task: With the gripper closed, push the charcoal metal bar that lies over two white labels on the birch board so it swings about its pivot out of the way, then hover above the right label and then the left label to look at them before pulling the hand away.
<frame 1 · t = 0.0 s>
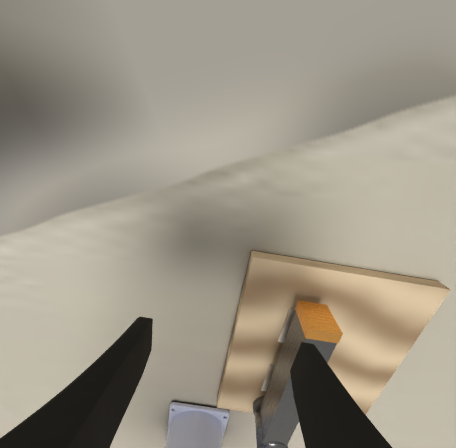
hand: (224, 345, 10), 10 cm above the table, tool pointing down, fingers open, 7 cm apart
swing bar: (288, 387, 21), point 4 cm above the table, hinge at 0.0°
label board: (310, 348, 24), on the table
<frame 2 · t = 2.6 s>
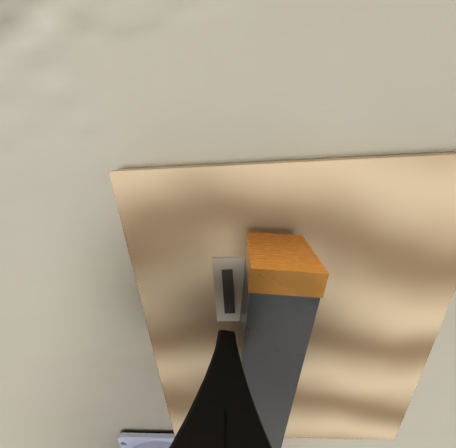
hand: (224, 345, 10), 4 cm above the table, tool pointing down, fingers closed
swing bar: (256, 396, 12), point 4 cm above the table, hinge at 6.1°, touching gripper
label board: (283, 324, 15), on the table
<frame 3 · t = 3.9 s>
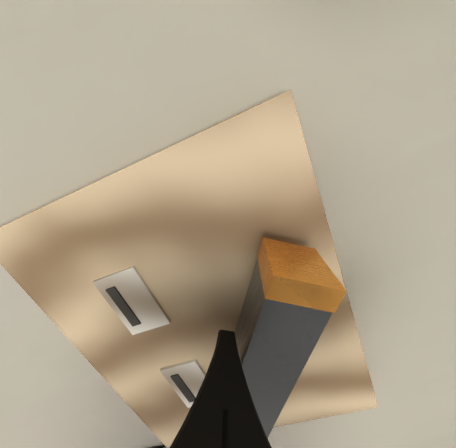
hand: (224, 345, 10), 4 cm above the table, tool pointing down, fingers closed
swing bar: (242, 398, 12), point 4 cm above the table, hinge at 35.4°, touching gripper
label board: (208, 319, 15), on the table
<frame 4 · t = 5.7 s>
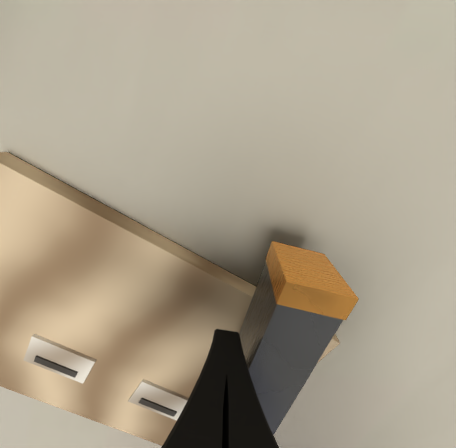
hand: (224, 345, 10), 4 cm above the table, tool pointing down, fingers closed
swing bar: (245, 401, 12), point 4 cm above the table, hinge at 73.0°, touching gripper
label board: (136, 341, 16), on the table
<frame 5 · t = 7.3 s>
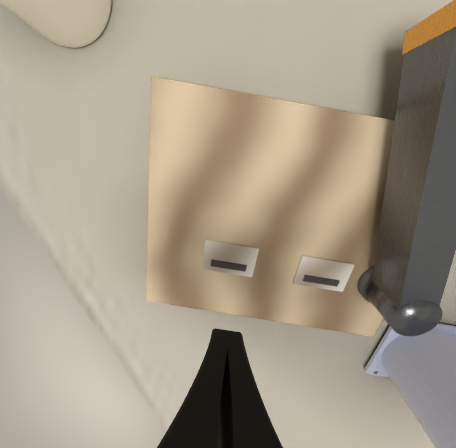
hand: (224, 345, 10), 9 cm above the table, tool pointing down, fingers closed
swing bar: (420, 204, 13), point 4 cm above the table, hinge at 73.3°
label board: (282, 228, 18), on the table
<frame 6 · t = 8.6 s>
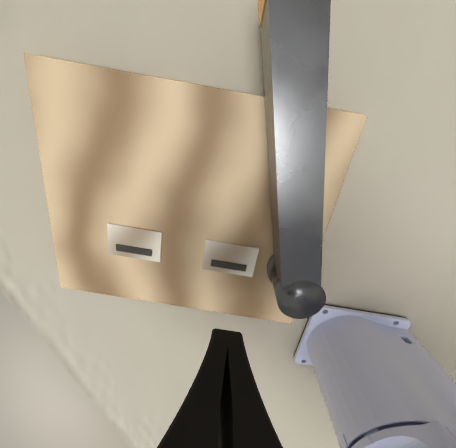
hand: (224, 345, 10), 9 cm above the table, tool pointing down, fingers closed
swing bar: (293, 182, 13), point 4 cm above the table, hinge at 73.3°
label board: (189, 212, 18), on the table
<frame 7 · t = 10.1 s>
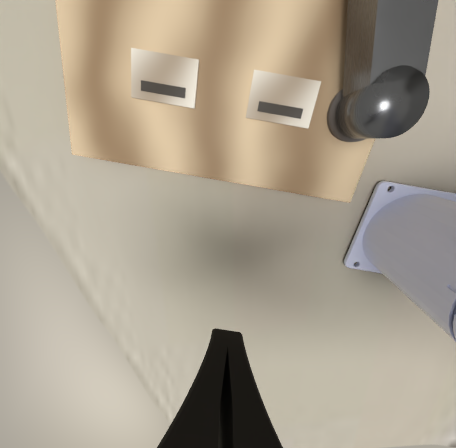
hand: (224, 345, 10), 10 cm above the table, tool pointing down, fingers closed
label board: (231, 43, 14), on the table
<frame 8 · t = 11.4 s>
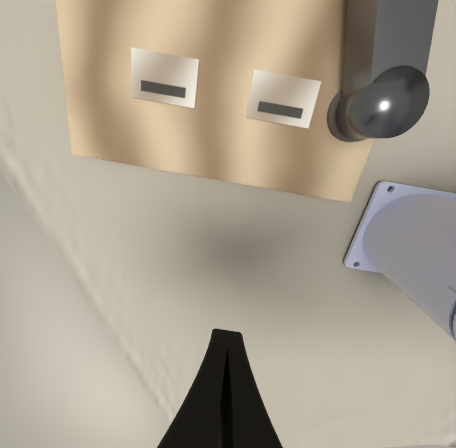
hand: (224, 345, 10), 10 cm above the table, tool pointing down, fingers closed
label board: (231, 43, 14), on the table
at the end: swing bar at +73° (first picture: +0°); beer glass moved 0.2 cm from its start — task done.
